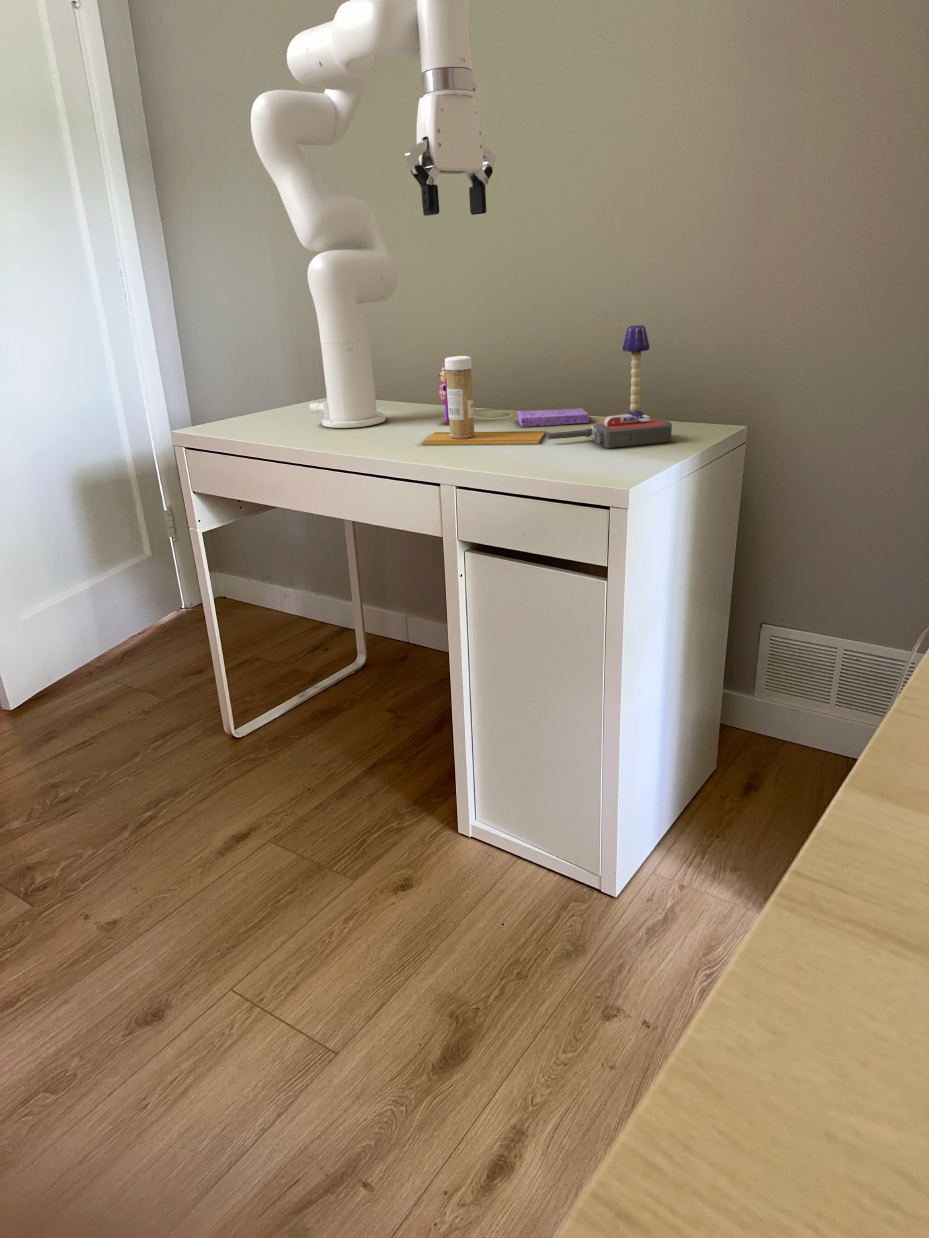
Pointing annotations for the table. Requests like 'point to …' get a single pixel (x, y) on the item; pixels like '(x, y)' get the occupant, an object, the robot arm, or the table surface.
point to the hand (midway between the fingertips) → (455, 214)
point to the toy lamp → (635, 365)
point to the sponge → (552, 417)
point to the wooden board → (487, 438)
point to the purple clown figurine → (444, 392)
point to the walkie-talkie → (623, 432)
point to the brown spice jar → (460, 397)
